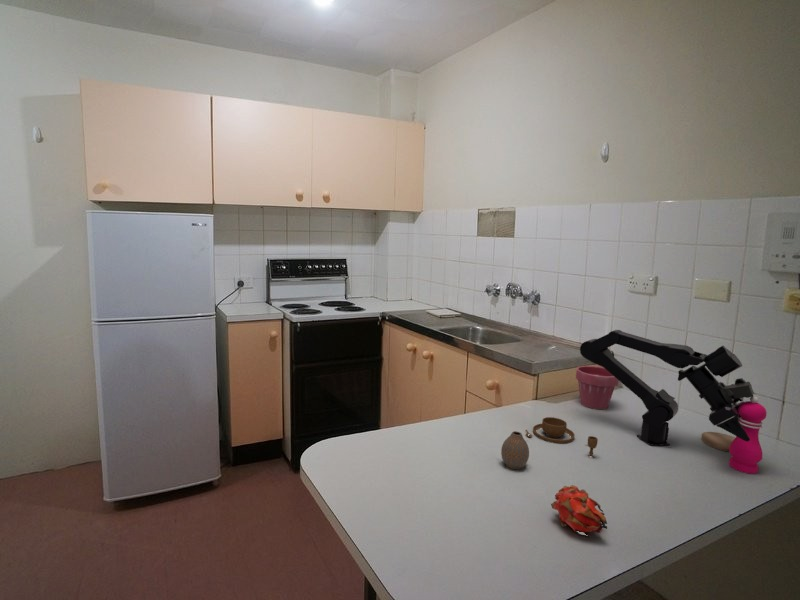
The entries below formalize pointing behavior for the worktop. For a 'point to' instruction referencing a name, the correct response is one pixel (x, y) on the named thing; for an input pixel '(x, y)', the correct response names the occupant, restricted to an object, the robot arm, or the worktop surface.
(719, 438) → the walnut base
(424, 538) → the worktop surface
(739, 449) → the pepper mill
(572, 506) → the dragon fruit
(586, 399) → the plant pot
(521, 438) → the vase
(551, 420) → the place setting
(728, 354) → the robot arm
